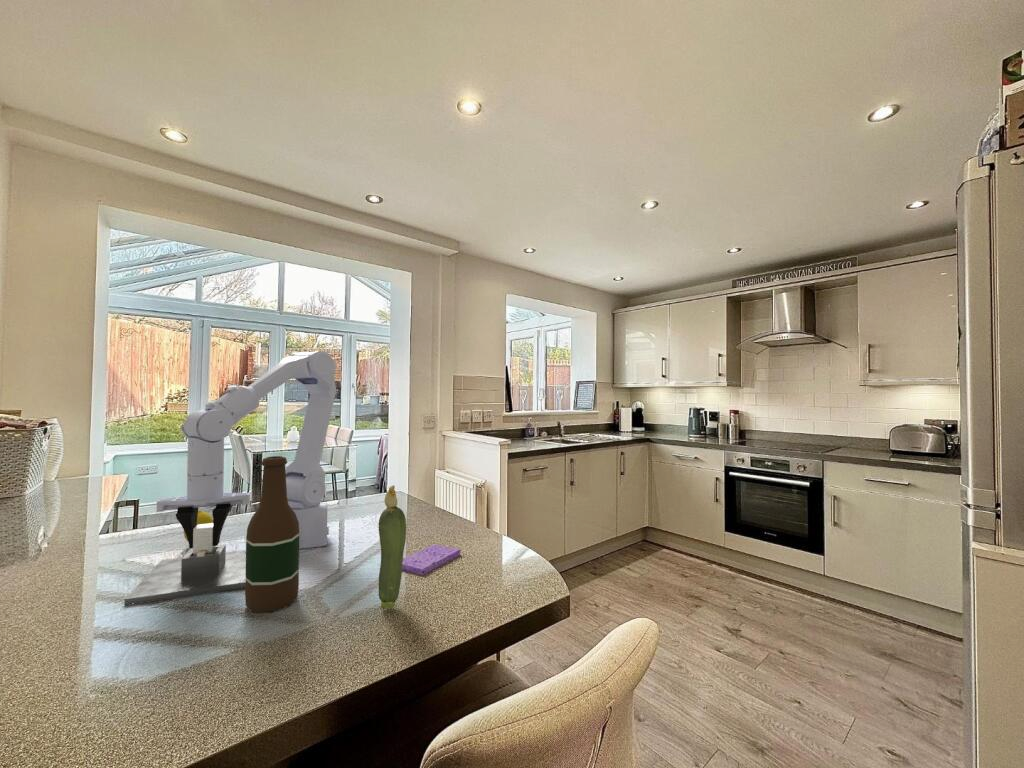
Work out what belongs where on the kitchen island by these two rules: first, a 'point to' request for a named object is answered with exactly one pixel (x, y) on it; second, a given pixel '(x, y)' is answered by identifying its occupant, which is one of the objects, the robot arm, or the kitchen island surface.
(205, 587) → the stand base
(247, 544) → the beer bottle
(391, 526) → the vegetable
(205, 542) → the post
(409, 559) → the sponges
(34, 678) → the kitchen island surface
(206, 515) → the lemon
